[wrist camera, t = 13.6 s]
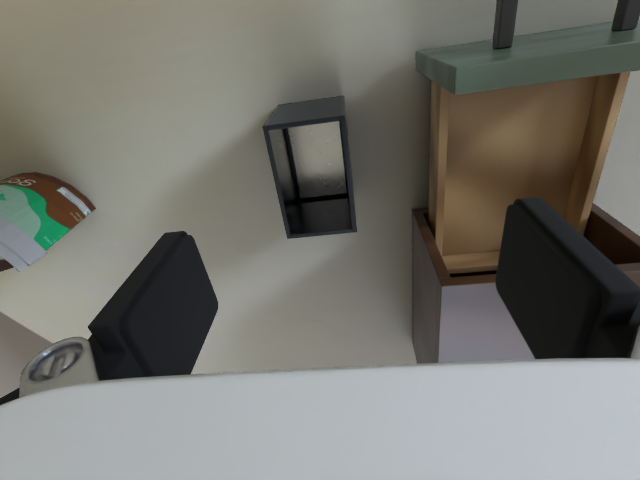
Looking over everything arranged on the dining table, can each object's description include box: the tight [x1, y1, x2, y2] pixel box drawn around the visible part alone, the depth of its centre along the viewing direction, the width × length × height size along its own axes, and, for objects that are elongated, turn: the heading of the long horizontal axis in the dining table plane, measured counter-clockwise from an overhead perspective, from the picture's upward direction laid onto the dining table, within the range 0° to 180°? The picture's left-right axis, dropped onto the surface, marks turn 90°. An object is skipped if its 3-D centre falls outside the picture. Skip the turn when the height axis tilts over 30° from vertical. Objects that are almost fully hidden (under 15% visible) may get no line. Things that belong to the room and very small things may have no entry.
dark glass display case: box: [263, 96, 357, 239], centre depth 26 cm, size 8×5×6 cm, turn 8°
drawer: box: [416, 0, 640, 274], centre depth 22 cm, size 22×13×10 cm, turn 8°
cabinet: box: [412, 203, 640, 364], centre depth 30 cm, size 17×14×11 cm
